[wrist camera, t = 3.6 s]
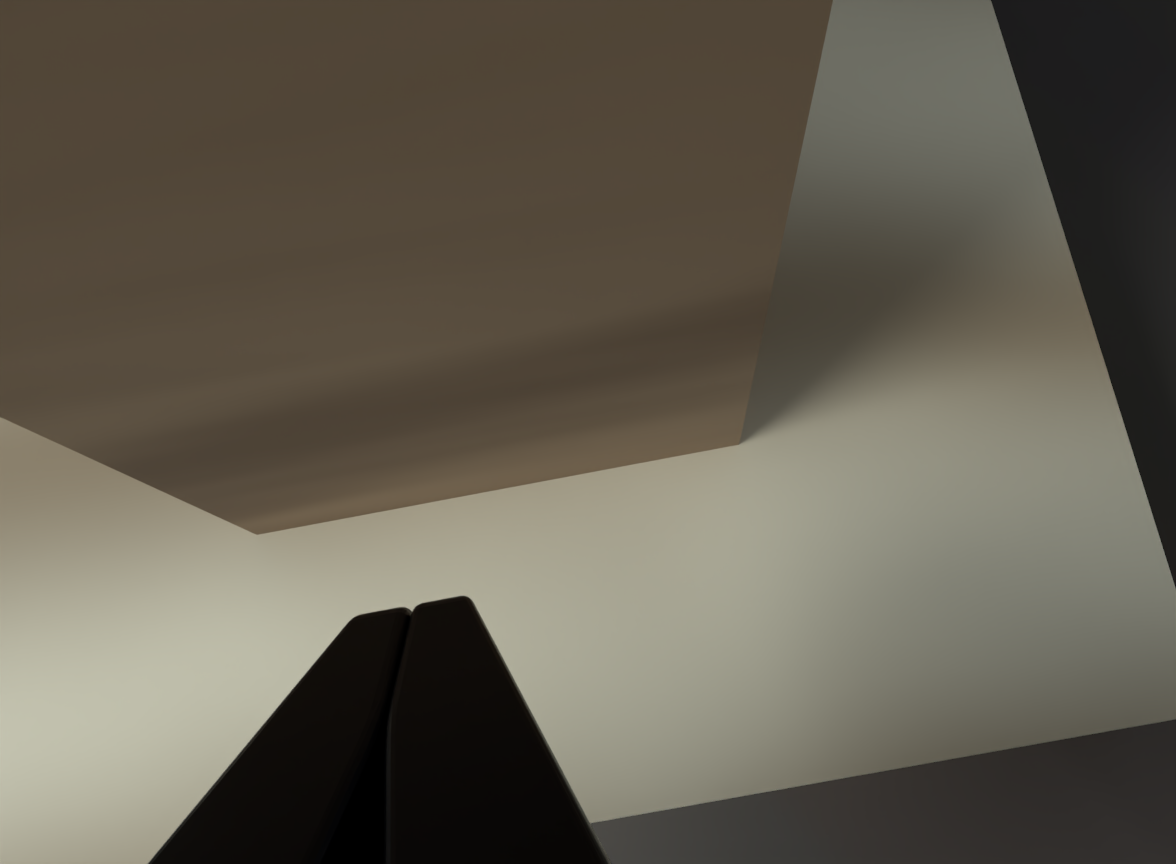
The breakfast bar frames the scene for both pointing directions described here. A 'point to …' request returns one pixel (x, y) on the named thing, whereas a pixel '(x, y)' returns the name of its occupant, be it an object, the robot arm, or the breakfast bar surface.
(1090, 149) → the breakfast bar surface
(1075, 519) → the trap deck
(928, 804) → the breakfast bar surface
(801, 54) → the walnut block
